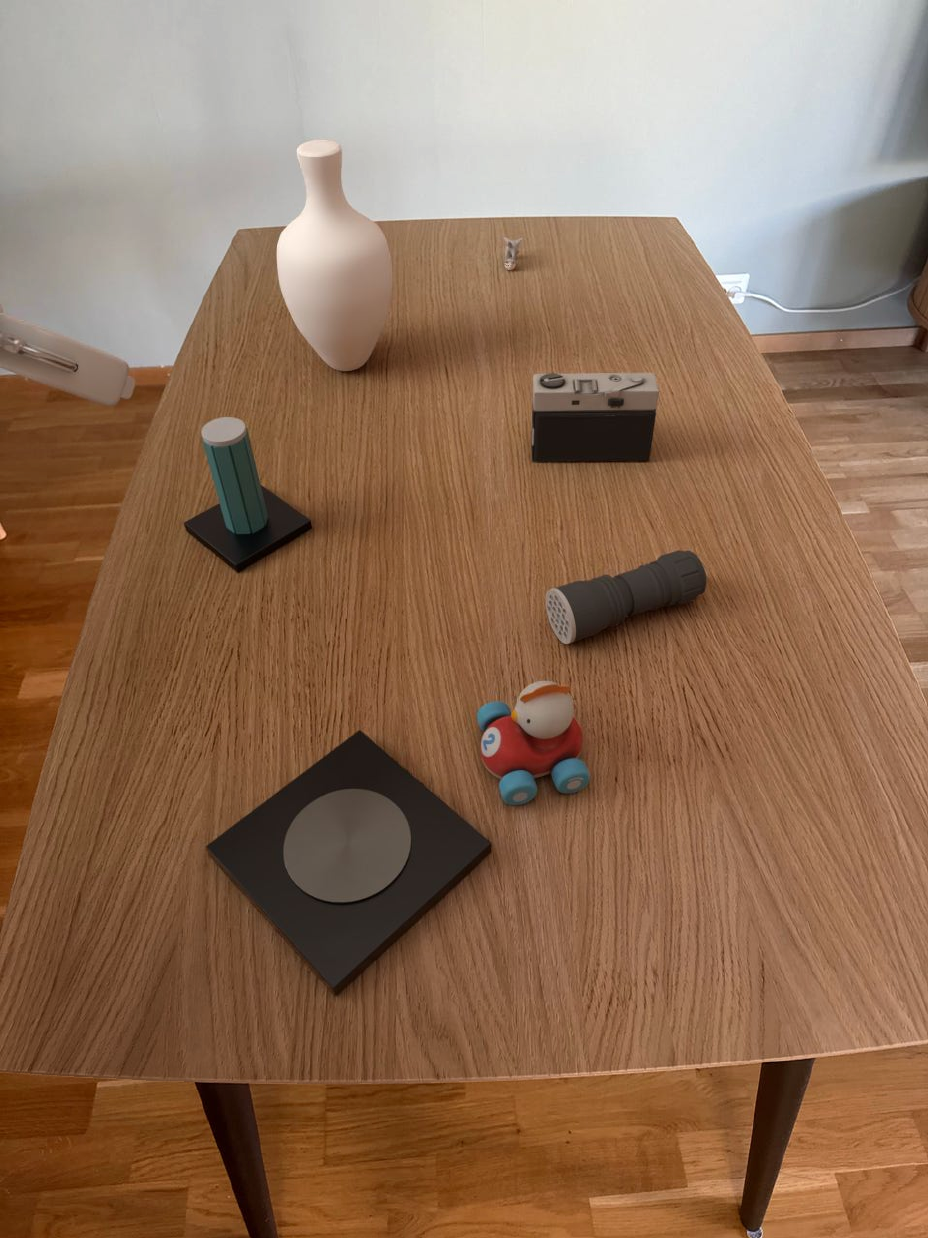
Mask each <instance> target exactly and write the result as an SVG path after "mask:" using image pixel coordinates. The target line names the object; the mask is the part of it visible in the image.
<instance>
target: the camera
mask: <svg viewBox="0 0 928 1238" xmlns="http://www.w3.org/2000/svg"><path fill="white" fill-rule="evenodd" d="M532 376H533V377H532V412H531V413H532V414H531V443H530V444H531V445H530V446H531V462H534V463H538V462H542V463H544V462H546V463H547V462H649V461H650V459H651V454H652V453H651V452H652V447H653V440H654V432H655V424H656V417H657V410H658V409H657V408H658V402H659V395H660V389H659V385H658V381H657V377H656V374H655V373H653V372H608V373H607V372H595V373H594V372H591V373H589V372H588V373H587V372H586V373H585V372H583V373H581V372H579V373H535V374H533V375H532Z"/></svg>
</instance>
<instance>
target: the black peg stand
mask: <svg viewBox="0 0 928 1238" xmlns="http://www.w3.org/2000/svg"><path fill="white" fill-rule="evenodd" d="M260 485H261V489H262V493H263V497H264V502H265V506H266V510H267V514H268V518H267V522H266V525H264V527H263V528H262V529H260V530H258V531H256V532H255V533H252V532H251V534H237V533H235V534H234V533H233V532H232V531H230V530H229V529H228V528H227V527H226V524H225V521H224V517H223V513H222V510H221V506H220V503H217V504H215V505H213V506H211V507H209V508H207V509H206V510H205V511H202V512H201V513H199V514H197V515H195V516H194V517H192V518H189V519H188V520H186V521H184V522H183V526H184V528H185V531H186V533H188V534H189V535H191V537H193V538H194V539H195V540H197V541H198V542H199V543H201V545H203V546H204V547H205V548H207V550H209V551H210V552H211V553H212V554H214V555H215V556H216V557H218V558H219V559H220V560H221V561H223V562H224V563H225V564H226V565H227V566H229V567H230V568H231V569H233V571H235V572H236V573H237V574H239V573H240V572H242V571H244V570H246V569H247V568H249V567H250V566H252V565H254V564H256V563H257V562H259V561H260V560H262V559H264V558H265V557H267V556H269V555H271V554H272V553H274V552H276V551H277V550H280V549H281V548H282V547H284V546H285V545H287V544H289V543H290V542H293V541H295V540H296V539H297V538H299V537H302V536H303V535H304V534H306V533H308V532H309V531H311V530H312V529H313V523H312V520H311V519H310V518H309V517H307V516H306V515H304V514H303V513H302V512H300V511H299V510H298V509H296V508H294V507H293V506H291V504H289V503H288V502H287V501H284V500H283V499H282V498H280V496H278V495H277V494H275V493H274V492H272V491H271V490H270V489H267V487H265V486H264V485H262V484H261V483H260Z"/></svg>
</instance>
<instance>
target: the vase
mask: <svg viewBox="0 0 928 1238" xmlns="http://www.w3.org/2000/svg"><path fill="white" fill-rule="evenodd" d="M296 158H297V161H298V163H299V167H300V170H301V173H302V177H303V180H304V184H305V192H306V196H305V197H306V198H305V205H304V208H303V210H302V211H301V213H300V214H299V215H298V216H297V217H296V218H294V219H293V220H292V221H291V222H290V223H288V225H287V226H286V227H285V228H284V229H283V230H282V231H281V232H280V234H279V237H278V241H277V245H276V267H277V278H278V283H279V289H280V291H281V294H282V297H283V300H284V303H285V305H286V308H287V311H288V313H289V315H290V317H291V318H292V320H293V322H294V324H295V326H296V328H297V329H298V331H299V332H300V335H302V336H303V338H304V339H305V341H306V342H307V343H308V344H309V345H310V346H311V348H312V349H313V350H314V352H316V353H317V355H318V356H319V357H320V358H321V360H322V361H323V362H324V363H325V364H326V365H327V366H329V367H330V368H332V369H334V370H336V371H341V372H352V371H355V370H358V369H361V367H363V366H364V365H366V363H367V362H368V360H369V358H370V357H371V356H372V353H373V351H374V349H375V347H376V345H377V343H378V341H379V338H380V337H381V334H382V332H383V329H384V327H385V325H386V322H387V319H388V316H389V311H390V307H391V299H392V292H393V283H394V280H393V279H394V278H393V277H394V274H393V264H392V257H391V253H390V248H389V243H388V241H387V238H386V236H385V234H384V232H383V231H382V229H381V227H380V226H379V225H378V224H377V223H376V222H374V221H373V220H371V219H370V218H369V217H367V216H366V215H364V214H363V213H361V212H359V211H358V210H356V209H355V208H354V207H352V206H351V205H350V204H349V202H348V200H347V198H346V195H345V192H344V189H343V181H342V167H343V165H342V164H343V150H342V145H341V144H339V143H338V142H337V141H335V140H330V139H314V140H309V141H305V142H303V143H301V144H299V145H298V147H297V149H296Z"/></svg>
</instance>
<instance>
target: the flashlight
mask: <svg viewBox="0 0 928 1238" xmlns="http://www.w3.org/2000/svg"><path fill="white" fill-rule="evenodd" d="M704 567H705V566H704V565H703V563H702V561H701V559H700V558H699V556H698V555H697V554H696V553H695V552H693V551H691V550H682V549H679V550H674V551H672V552H668V553H665V554H661V555H659V557H658V558H657V559H656V560H652V561H651V562H649V563H645V564H642V565H640V566H638V567H637V568H634V569H631V570H628V571H625V572H621V573H619V574H616V575H614V576H611V575H610V574H609V575H608V574H603V575H601V576H597V577H594V578H592V579H590V580H576V581H573V582H569V583H566V584H563V585H560V586H557V587H554V588H550V589H549V590H547V592H546V594H545V610H546V615H547V618H548V621H549V624H550V627H551V629H552V631H553V634H555V636H556V638H557V639H558V640H559V641H560V642H561V643H562V644H564V645H569V644H571V643H572V644H573V643H575V642H579V641H580V640H583V639H587V638H590V637H592V636H595V635H597V634H598V633H600V632H602V631H603V630H604V629H606V628H612V627H614V626H617V625H621V624H623V622H624V621H625V619H626V617H632V616H635V615H639V614H642V613H645V612H648V611H655V610H658V609H661V608H663V607H668V606H671V605H672V606H681V605H684V604H688V603H689V602H693V601H695V600H697V599H698V597H699V596H701V595H703V594H704V593H705V591H706V589H707V584H708V583H707V582H708V581H707V573H706V570H705V568H704Z"/></svg>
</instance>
